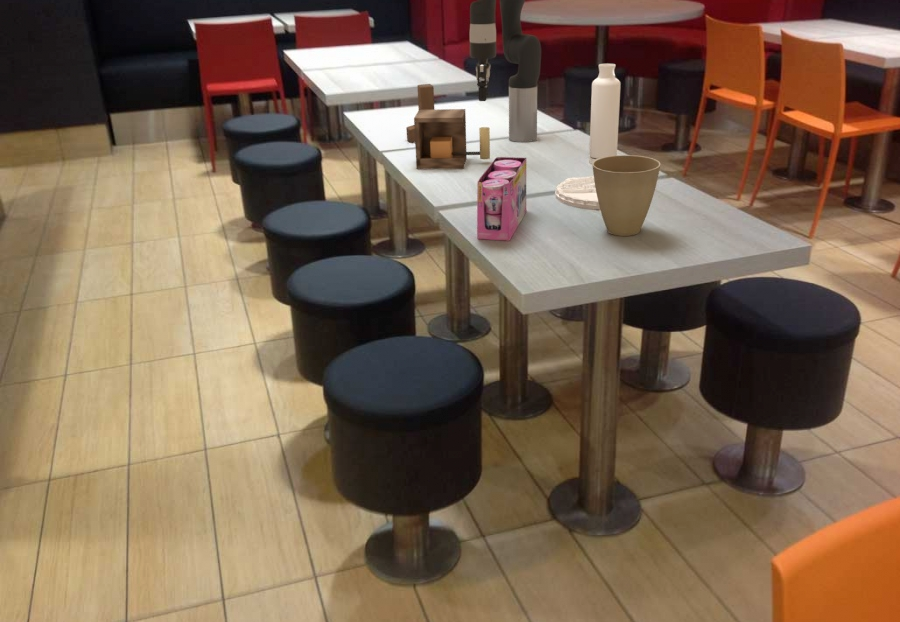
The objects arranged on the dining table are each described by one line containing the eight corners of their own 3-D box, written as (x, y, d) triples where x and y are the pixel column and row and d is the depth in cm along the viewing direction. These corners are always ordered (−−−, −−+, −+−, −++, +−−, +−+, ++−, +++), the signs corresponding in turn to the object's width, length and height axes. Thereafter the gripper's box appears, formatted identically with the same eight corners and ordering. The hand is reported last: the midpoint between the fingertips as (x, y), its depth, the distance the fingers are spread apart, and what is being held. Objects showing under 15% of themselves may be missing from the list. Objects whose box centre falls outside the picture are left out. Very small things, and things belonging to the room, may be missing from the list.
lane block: (490, 155, 253) (490, 125, 249) (489, 161, 248) (489, 130, 244) (433, 156, 255) (431, 126, 251) (430, 161, 249) (429, 131, 245)
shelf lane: (466, 158, 257) (465, 109, 251) (463, 168, 246) (462, 117, 240) (421, 158, 258) (419, 109, 252) (416, 168, 248) (414, 118, 241)
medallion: (586, 216, 204) (586, 207, 203) (532, 189, 226) (532, 180, 225) (665, 202, 212) (665, 193, 211) (605, 176, 235) (605, 168, 234)
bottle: (614, 166, 243) (619, 67, 231) (586, 164, 246) (590, 66, 234) (618, 159, 250) (623, 63, 238) (591, 157, 252) (595, 62, 241)
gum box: (509, 243, 188) (509, 185, 182) (475, 241, 190) (473, 183, 184) (527, 210, 209) (527, 157, 203) (496, 209, 211) (495, 156, 205)
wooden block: (409, 143, 277) (406, 87, 270) (406, 140, 281) (403, 85, 274) (436, 140, 279) (433, 85, 272) (432, 137, 283) (430, 83, 276)
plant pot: (623, 216, 202) (627, 151, 195) (669, 232, 190) (674, 164, 184) (576, 229, 195) (578, 162, 188) (620, 246, 183) (624, 176, 177)
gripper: (495, 43, 229) (495, 102, 236) (497, 36, 242) (497, 93, 249) (467, 43, 230) (468, 103, 237) (471, 37, 243) (472, 93, 250)
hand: (483, 98), depth 243 cm, fingers open, 8 cm apart
